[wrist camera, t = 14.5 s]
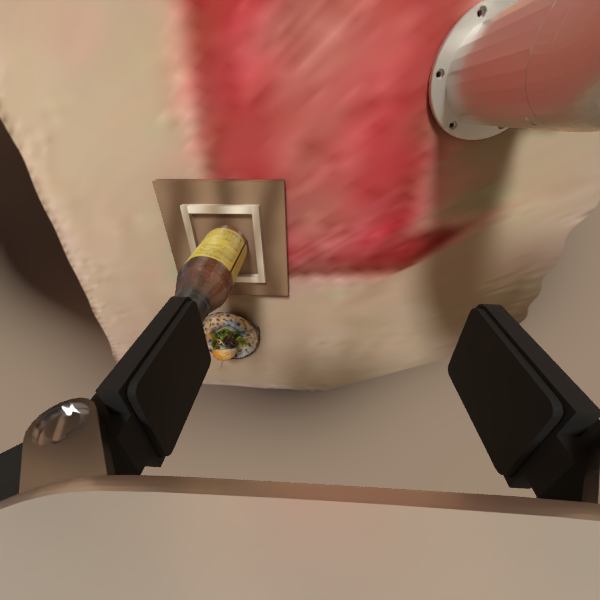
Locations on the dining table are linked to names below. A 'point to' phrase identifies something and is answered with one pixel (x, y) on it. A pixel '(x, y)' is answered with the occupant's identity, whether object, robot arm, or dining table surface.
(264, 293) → the walnut board
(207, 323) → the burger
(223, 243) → the sauce bottle
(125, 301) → the dining table surface
